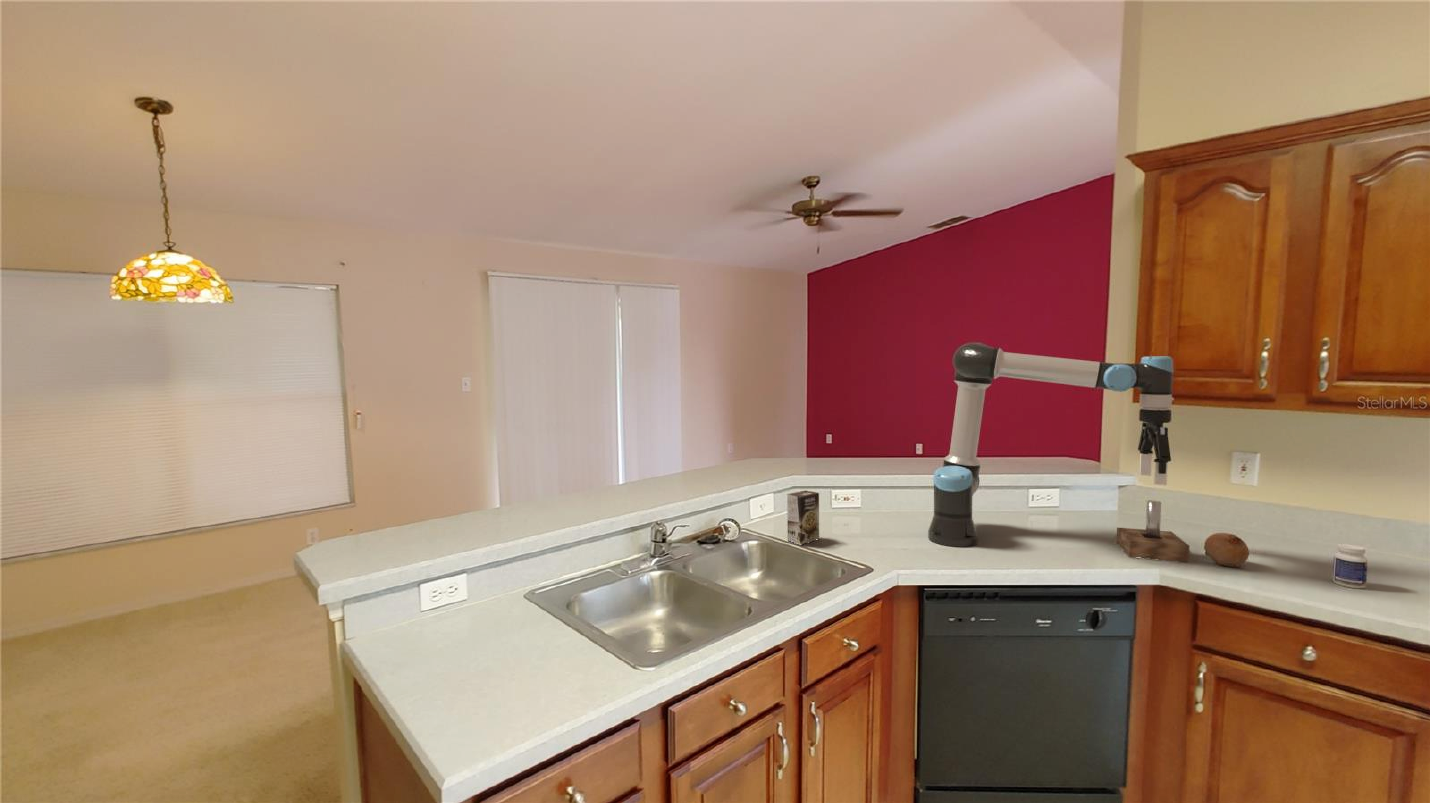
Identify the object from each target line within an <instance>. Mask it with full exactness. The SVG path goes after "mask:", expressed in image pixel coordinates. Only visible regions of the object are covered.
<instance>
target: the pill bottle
mask: <svg viewBox="0 0 1430 803" xmlns="http://www.w3.org/2000/svg"><path fill="white" fill-rule="evenodd" d="M1336 548H1337V550H1338V551H1337V552H1335V553H1334V555H1333V567H1332V569H1333V570H1332V582H1334V583H1335V584H1337V585H1338V586H1343V587H1346V588H1350V589H1351V588H1352V589H1365V588H1366V587H1367V575H1368V558H1366V556H1364V554H1365V555H1366V548H1365V547H1363V546H1360V545H1356V544H1350V543H1349V544H1348V543H1338V544H1337V547H1336Z"/></svg>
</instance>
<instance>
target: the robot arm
mask: <svg viewBox="0 0 1430 803" xmlns="http://www.w3.org/2000/svg"><path fill="white" fill-rule="evenodd" d="M952 365H953V368H954V370H955V372H954V380H953V381H954V383H955V384H956V385H957V394H956V402H955V410H954V417H953V424H952V432H951V437H950V438H951V440H950V449H949V454H948V455H946V456H945V457H944V458H943V464H942V466H941V467H939V468H937V469H936V470H935V471H934V473H933V517H932V519H931V522H930V525H929V527H928V532H927V538H928V539H929V540H930V541H931V542H933V543H935V544H938V545H941V546H949V547H960V548H961V547H962V548H963V547H971V546H975V545H977V544H978V542H979V534H978V531H977V529H976V525H975V522H974V519H973V496H974V494H975V493H976V492H977V490H978V489H979V487H980V468H981V462H980V461H979V460H978V458H977V454H978V446H979V441H980V435H981V434H980V433H981V425H982V419H983V418H982V417H983V411H984V403H985V397H986V396H985V395H986V390H987V388H989V387H990V386H992V384H993V379H994V380H997V378H999V377H1002V378H1003V377H1004V378H1010V379H1011V378H1012V379H1020V380H1027V381H1028V380H1029V381H1036V382H1044V383H1053V384H1063V385H1070V386H1076V387H1086V388H1094V389H1099V390H1100V389H1101V390H1109V391H1110V390H1111V391H1114V392H1118V393H1119V392H1120V393H1122V392H1126V391H1128V390H1129V389H1139V390H1140V391H1139V401H1138V402H1139V403H1138V405H1139V408H1140V409H1139V411H1138V413H1139V414H1138V421H1139V422H1142V423H1141V427H1142V428H1141V432H1140V437H1139V441H1138V447H1137V450H1138V451H1139V453H1140V456H1139V475H1140V476H1152V458H1153V457H1152V456H1153V454H1154V456H1155V458H1154V460H1153V463H1154V478H1153V479H1154V480H1153V484H1154V485H1158V486H1159V485H1160V486H1167V481H1168V478H1167V477H1168V463H1169V462H1171V461H1172V457H1171V448H1170V443H1169V428H1168V427H1165V426H1164V424H1167V423H1169V424H1170V423H1171V422H1172V410H1171V408H1172V401H1173V402H1174V400H1175V398H1174V397H1173V386H1174V385H1173V383H1174V359H1173V358H1172V357H1171V356H1169V355H1168V356H1165V355H1162V356H1161V355H1160V356H1157V355H1156V356H1143V357H1141V360H1140V362H1135V363H1129V362H1128V363H1127V362H1125V363H1123V362H1122V363H1121V362H1120V363H1119V362H1118V363H1117V362H1115V363H1114V362H1113V363H1112V362H1104V361H1103V362H1100V361H1093V360H1092V361H1091V360H1083V359H1082V360H1081V359H1075V358H1063V357H1055V356H1046V355H1045V356H1044V355H1036V354H1026V353H1025V354H1024V353H1017V352H1009V351H1008V352H1007V351H1006V352H1005V351H1003V349H1002V348H1000V347H999V348H998V347H993V346H989V345H987V344H985V343H982V342H967V343H965V344H963V345H961V346H959V347H958V348H957V349H956V350H955V352H954V354H953V357H952ZM1152 449H1153V450H1152ZM1153 451H1154V452H1153Z"/></svg>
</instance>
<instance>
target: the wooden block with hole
mask: <svg viewBox="0 0 1430 803" xmlns="http://www.w3.org/2000/svg"><path fill="white" fill-rule="evenodd" d="M1116 544H1117V545H1118V546H1119V547H1120V548H1122V549H1123V550H1124V551H1123V550H1122V551H1123V552H1124V553H1125V554H1126V556H1128V558H1130V557H1141V558H1150V559H1149V560H1151V559H1158V560H1157V561H1162V560H1166V561H1165V562H1173V561H1178V562H1177V563H1184V562H1187V564H1188V563H1189V561H1190V560H1189V559H1190V544H1188V543H1187V542H1186V541H1184V540H1183V539H1182V538H1180V537H1179V536H1177V534H1176V533H1174V532H1173V531H1170V530H1167V531H1166V530H1160V539H1156V538H1146V529H1143V528H1142V529H1141V528H1131V527H1129V528H1127V527H1116Z"/></svg>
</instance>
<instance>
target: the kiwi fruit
mask: <svg viewBox="0 0 1430 803" xmlns="http://www.w3.org/2000/svg"><path fill="white" fill-rule="evenodd" d="M1203 550H1204V551H1205V552H1204V554H1205V556H1207V557H1208V558H1209V559H1210V560H1211V561H1212V562H1214V563H1215V564H1217V565H1221V566H1223V567H1224V566H1225V567H1237V566H1238V567H1239V566H1241V565H1243V564H1244V563H1245V562H1246V561H1247V560H1248V558H1249V556H1250V550H1249V548H1248V545H1247V544H1246V542H1245V541H1244V540H1243V539H1242V538H1240V537H1239V536H1237V535H1235V534H1233V533H1228V532H1227V533H1226V532H1216V533H1213V534H1210V535H1209V536H1208V537H1207V538H1206V539H1205V540H1204V544H1203Z"/></svg>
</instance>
